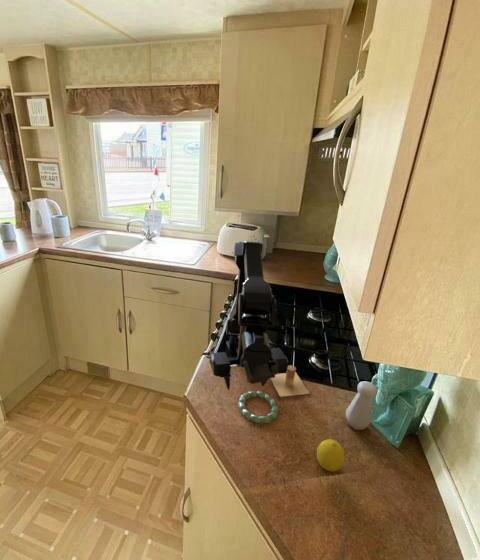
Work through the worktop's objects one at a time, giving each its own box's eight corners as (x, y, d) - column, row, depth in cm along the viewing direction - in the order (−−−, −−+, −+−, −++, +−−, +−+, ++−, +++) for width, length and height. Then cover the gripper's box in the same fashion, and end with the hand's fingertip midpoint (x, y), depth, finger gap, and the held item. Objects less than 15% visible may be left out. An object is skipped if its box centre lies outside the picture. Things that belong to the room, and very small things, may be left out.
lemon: (308, 458, 73) (315, 434, 69) (329, 453, 74) (337, 429, 70) (323, 482, 68) (331, 457, 64) (345, 476, 69) (354, 451, 66)
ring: (233, 396, 89) (234, 391, 89) (268, 392, 91) (269, 387, 90) (244, 427, 80) (245, 422, 79) (283, 422, 81) (284, 418, 81)
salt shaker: (372, 433, 79) (387, 395, 74) (349, 432, 79) (362, 394, 74) (361, 414, 84) (374, 377, 79) (340, 414, 84) (351, 376, 79)
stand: (268, 377, 97) (271, 359, 94) (295, 374, 98) (299, 356, 95) (279, 399, 89) (283, 380, 86) (309, 396, 90) (313, 377, 87)
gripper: (221, 362, 66) (217, 415, 73) (304, 355, 69) (292, 407, 75) (210, 332, 76) (207, 381, 83) (283, 327, 79) (274, 375, 85)
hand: (245, 386), depth 81 cm, fingers open, 9 cm apart
